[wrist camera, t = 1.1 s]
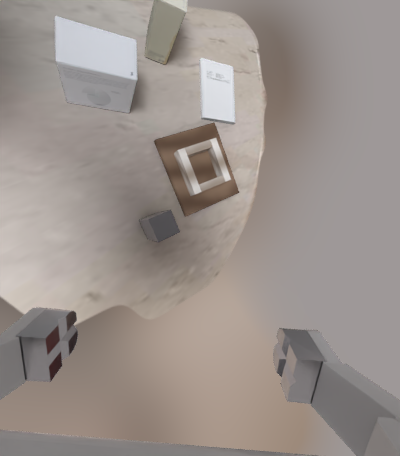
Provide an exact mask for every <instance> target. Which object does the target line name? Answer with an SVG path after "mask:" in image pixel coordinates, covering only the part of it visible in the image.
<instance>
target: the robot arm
mask: <svg viewBox="0 0 400 456" xmlns="http://www.w3.org/2000/svg"><path fill="white" fill-rule="evenodd" d="M76 320H77V318H76V313H75V312H74V311H70V310H61V309H51V308H49V309H48V308H40V307H36V308H32V309H31V310H30V311H29V312H27V313H26V314H25V315H24V316H23V317H21V318H20V319H19V320H18V321H16V322H15V323H14V324H13V325H11V326H10V327H9V328H8V329H7V330H5V331H4V332H3V333H2V334H0V400H1V399H2V398H4V397H5V396H6V395H8V394H9V393H11V392H12V391H14V390H15V389H16V388H18V387H19V386H20V385H22V384H24V383H25V382H26V381H43V382H51V381H52V379H53V378H54V376H55V375H56V374H57V372H58V371H59V369H60V368H61V367H62V360H63V359H64V358H66V357H68V356H69V355H70V354H71V353H72V351H73V350H74V347H75V345H76V342H77V337H78V331H77V329H76V327H75V326H74V325H73V324H74V323H75V322H76ZM277 339H278V341H279V342H278V343H277V344H276V345H275V347H274V353H273V356H274V365H275V369H276V372H277V373H278V374H279V375H280V376H281V377H282V379H281V386H282V389H283V392H284V394H285V397H286V400H287V401H290V402H298V403H308V404H311V406H312V407H313V408H314V409H315V410H316V411H317V412H318V414H319V415H320V416H321V417H322V418H323V419H324V420H325V421H326V422H327V423H328V425H329V426H330V427H331V428H332V429H333V430H334V431H335V432H336V434H337V435H338V436H339V437H340V438H341V439H342V440H343V441H344V442H345V444H346V445H347V446H348V447H349V448H350V449H351V450H352V451H353V452H354V454H355V455H356V456H400V400H399V399H398V398H396V397H394V396H393V395H392V394H390V393H389V392H387V391H386V390H384V389H382V388H381V387H380V386H378V385H377V384H375V383H374V382H373V381H371V380H370V379H368V378H366V377H365V376H363V375H362V374H361V373H359V372H357V371H356V370H355V369H353V368H352V367H350V366H349V365H347V364H343V363H342V362H341V361H340V359H339V358H338V357H337V355H336V354H335V352H334V351H333V350H332V348H331V347H330V345H329V344H328V342H327V341H326V340H325V338H324V337H323V336H322V334H321V333H320V332H319V331H318V330H298V329H284V328H279V330H278V332H277ZM0 456H316V455H303V454H292V453H280V452H268V451H255V450H243V449H231V448H217V447H206V446H205V447H204V446H194V445H181V444H169V443H157V442H144V441H132V440H119V439H108V438H95V437H83V436H70V435H58V434H46V433H34V432H22V431H8V430H0Z"/></svg>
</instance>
